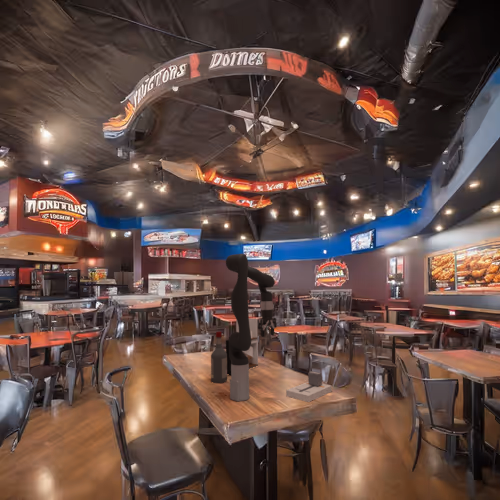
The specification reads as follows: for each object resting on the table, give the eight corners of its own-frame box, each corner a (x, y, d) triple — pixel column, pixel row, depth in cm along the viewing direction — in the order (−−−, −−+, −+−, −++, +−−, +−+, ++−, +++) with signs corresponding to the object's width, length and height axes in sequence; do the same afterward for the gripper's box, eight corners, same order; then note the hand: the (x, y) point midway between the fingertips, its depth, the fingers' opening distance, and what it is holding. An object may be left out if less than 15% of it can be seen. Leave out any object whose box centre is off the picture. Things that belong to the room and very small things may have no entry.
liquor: (227, 379, 196) (227, 331, 200) (225, 383, 187) (224, 332, 191) (213, 379, 197) (213, 331, 201) (210, 383, 188) (210, 332, 192)
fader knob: (318, 386, 165) (317, 374, 166) (308, 384, 170) (308, 372, 170) (322, 384, 168) (321, 372, 169) (312, 382, 172) (312, 371, 173)
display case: (237, 367, 225) (236, 319, 230) (246, 365, 234) (245, 318, 239) (249, 369, 219) (248, 319, 224) (258, 366, 227) (256, 318, 232)
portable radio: (232, 372, 213) (232, 335, 217) (239, 373, 210) (238, 335, 213) (224, 374, 207) (224, 336, 211) (231, 375, 204) (230, 337, 207)
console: (308, 402, 152) (308, 395, 152) (286, 396, 161) (286, 389, 162) (331, 391, 167) (331, 385, 167) (310, 386, 177) (309, 380, 177)
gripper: (270, 308, 197) (270, 334, 194) (254, 309, 187) (255, 336, 184) (279, 308, 191) (280, 335, 189) (263, 309, 181) (264, 337, 179)
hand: (267, 335), depth 187 cm, fingers open, 8 cm apart
